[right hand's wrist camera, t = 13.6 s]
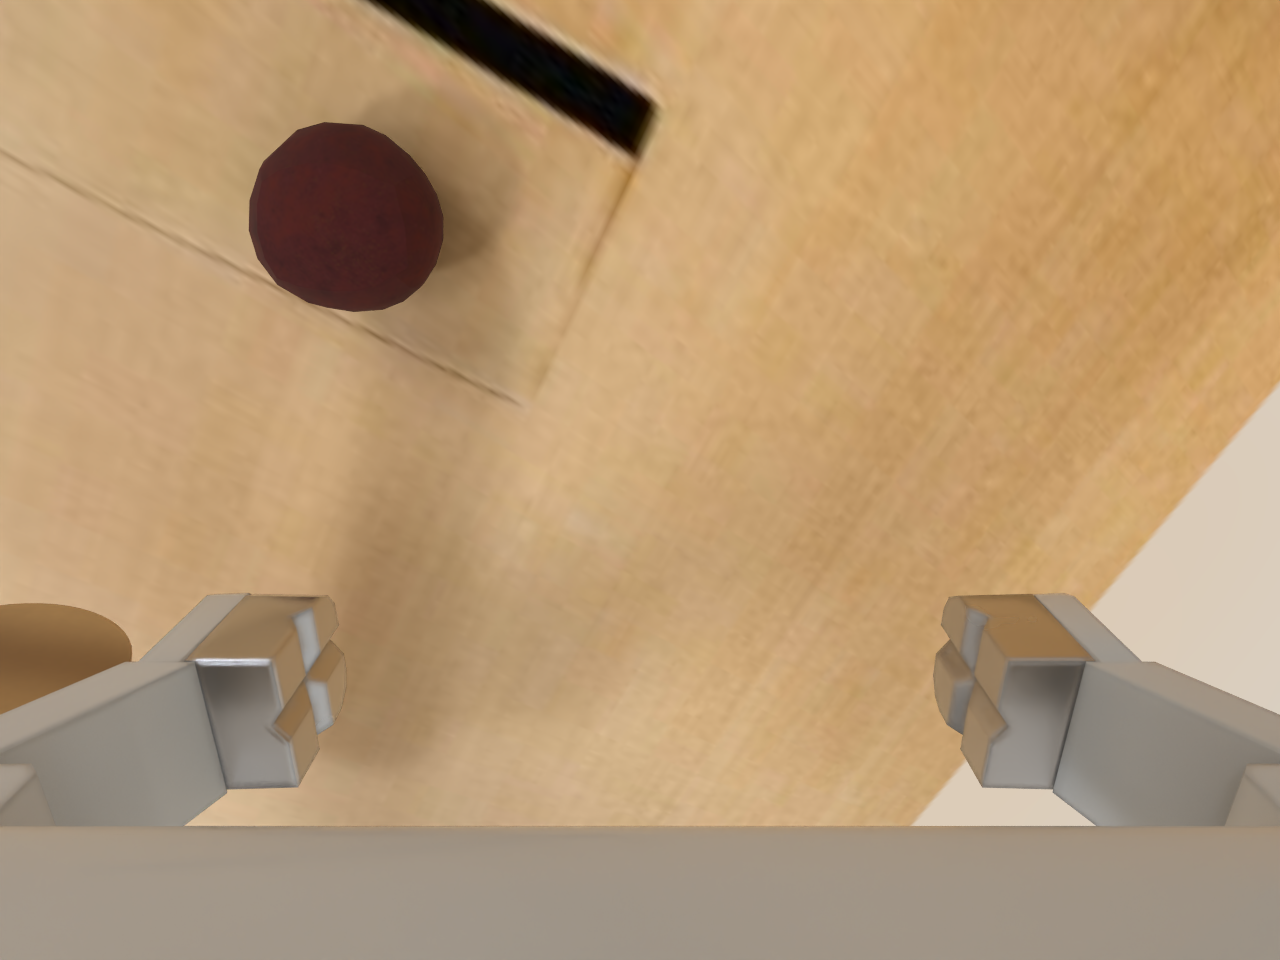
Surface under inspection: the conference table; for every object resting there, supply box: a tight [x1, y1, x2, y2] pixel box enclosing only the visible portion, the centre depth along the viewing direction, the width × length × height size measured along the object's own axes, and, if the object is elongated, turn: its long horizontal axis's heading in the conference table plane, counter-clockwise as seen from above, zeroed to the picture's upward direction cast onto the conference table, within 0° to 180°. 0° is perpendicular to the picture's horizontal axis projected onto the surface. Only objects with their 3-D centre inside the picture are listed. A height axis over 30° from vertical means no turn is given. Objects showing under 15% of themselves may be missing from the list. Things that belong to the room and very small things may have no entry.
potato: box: [249, 122, 443, 312], centre depth 32 cm, size 7×8×7 cm
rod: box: [0, 603, 132, 715], centre depth 28 cm, size 24×6×6 cm, turn 163°
